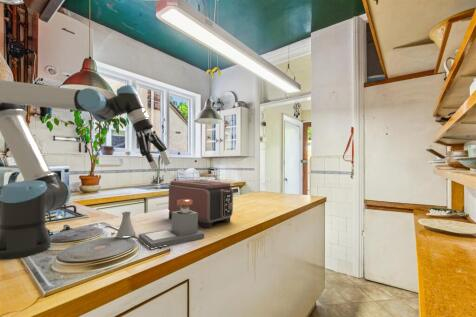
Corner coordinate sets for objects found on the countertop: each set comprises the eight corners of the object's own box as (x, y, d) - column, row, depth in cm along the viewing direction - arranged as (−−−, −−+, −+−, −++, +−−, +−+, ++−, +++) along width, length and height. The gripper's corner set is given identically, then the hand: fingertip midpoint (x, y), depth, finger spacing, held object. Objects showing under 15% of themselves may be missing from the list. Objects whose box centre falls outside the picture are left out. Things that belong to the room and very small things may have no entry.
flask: (127, 239, 94) (128, 214, 95) (111, 238, 96) (112, 213, 96) (138, 234, 101) (139, 211, 102) (123, 233, 103) (124, 210, 103)
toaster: (214, 231, 108) (215, 186, 108) (166, 218, 130) (167, 181, 130) (239, 223, 123) (240, 183, 124) (192, 213, 145) (193, 179, 145)
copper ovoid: (181, 222, 96) (181, 201, 96) (174, 219, 101) (174, 199, 101) (195, 220, 100) (195, 200, 100) (187, 217, 105) (188, 198, 105)
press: (151, 249, 84) (151, 221, 85) (138, 239, 95) (139, 214, 95) (204, 237, 98) (204, 213, 99) (188, 230, 109) (188, 208, 109)
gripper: (133, 115, 88) (157, 167, 90) (160, 119, 113) (179, 159, 115) (116, 124, 89) (140, 175, 91) (147, 125, 114) (166, 165, 116)
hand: (162, 166), depth 103 cm, fingers open, 13 cm apart
